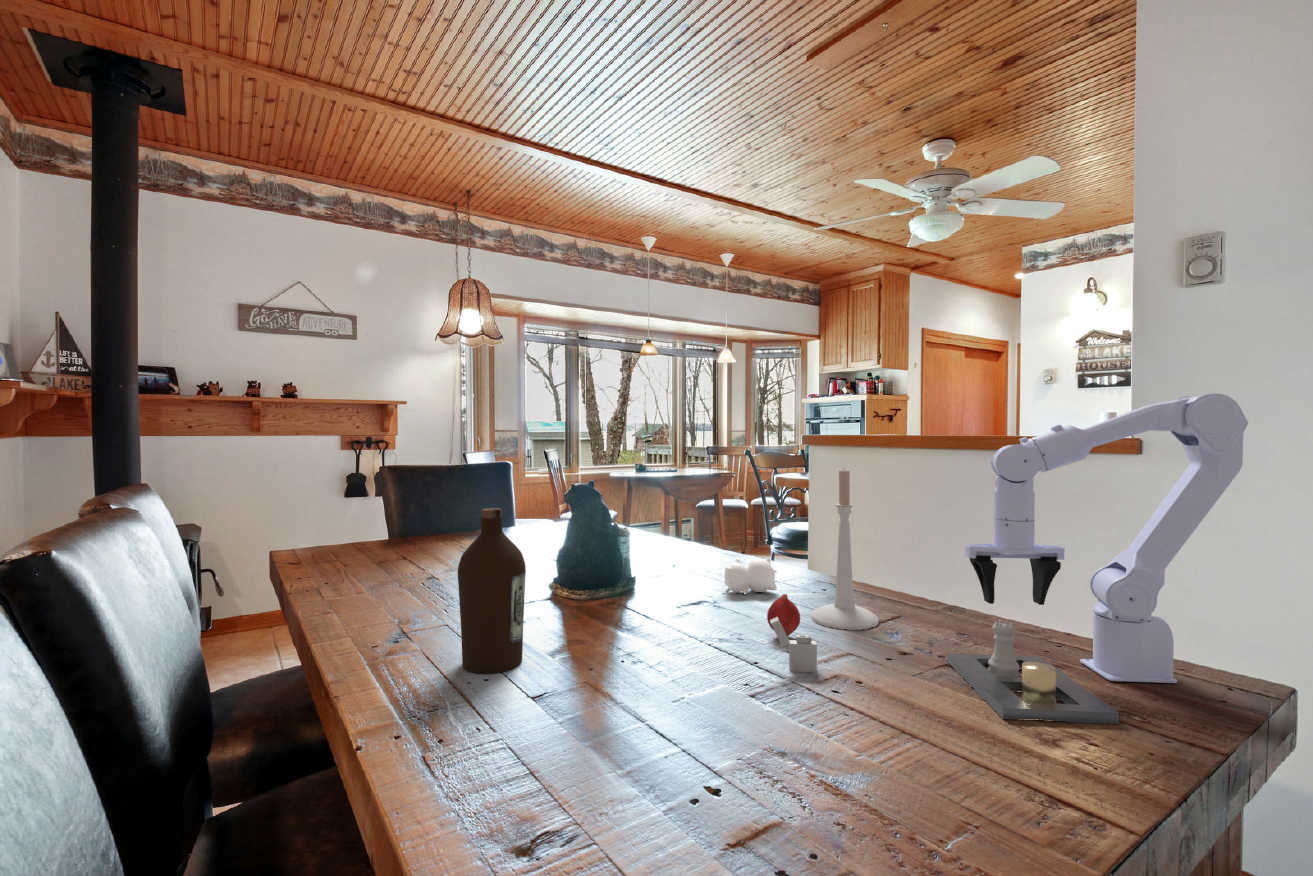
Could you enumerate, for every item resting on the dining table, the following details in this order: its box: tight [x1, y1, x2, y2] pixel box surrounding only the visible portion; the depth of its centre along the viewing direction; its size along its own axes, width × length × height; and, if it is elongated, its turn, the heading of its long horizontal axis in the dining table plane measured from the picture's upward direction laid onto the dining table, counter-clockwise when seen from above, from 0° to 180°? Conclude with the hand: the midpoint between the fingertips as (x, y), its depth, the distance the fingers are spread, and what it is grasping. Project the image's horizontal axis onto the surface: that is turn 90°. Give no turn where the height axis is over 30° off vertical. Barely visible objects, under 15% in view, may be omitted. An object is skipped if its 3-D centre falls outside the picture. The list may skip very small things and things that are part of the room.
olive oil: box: [457, 507, 527, 675], centre depth 101 cm, size 11×11×25 cm
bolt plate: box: [946, 652, 1120, 725], centre depth 90 cm, size 14×20×5 cm
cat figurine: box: [724, 557, 778, 594], centre depth 146 cm, size 9×11×12 cm
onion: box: [766, 593, 801, 638], centre depth 113 cm, size 6×6×8 cm
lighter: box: [770, 617, 818, 673], centre depth 99 cm, size 7×2×8 cm, turn 84°
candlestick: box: [810, 468, 880, 631], centre depth 124 cm, size 13×13×30 cm
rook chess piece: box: [987, 619, 1021, 677], centre depth 96 cm, size 4×4×8 cm
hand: (1013, 602), depth 102 cm, fingers open, 7 cm apart
